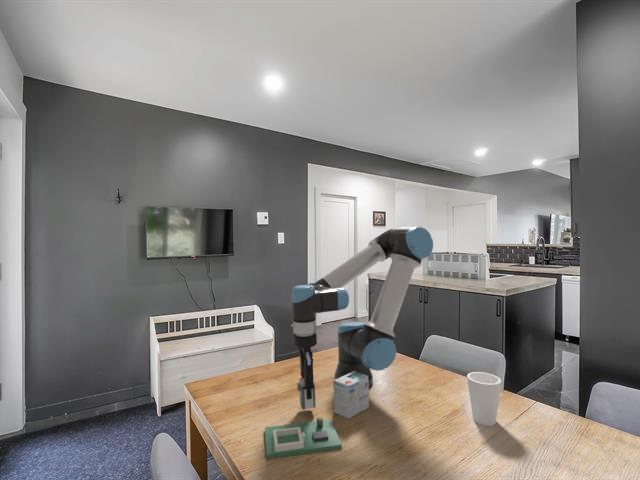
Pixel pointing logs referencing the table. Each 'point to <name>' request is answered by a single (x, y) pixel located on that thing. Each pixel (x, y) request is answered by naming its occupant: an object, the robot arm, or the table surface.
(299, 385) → the block
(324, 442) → the board
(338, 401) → the light bulb box
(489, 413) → the foam cup
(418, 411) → the table surface
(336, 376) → the robot arm
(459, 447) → the table surface
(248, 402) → the table surface
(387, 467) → the table surface
